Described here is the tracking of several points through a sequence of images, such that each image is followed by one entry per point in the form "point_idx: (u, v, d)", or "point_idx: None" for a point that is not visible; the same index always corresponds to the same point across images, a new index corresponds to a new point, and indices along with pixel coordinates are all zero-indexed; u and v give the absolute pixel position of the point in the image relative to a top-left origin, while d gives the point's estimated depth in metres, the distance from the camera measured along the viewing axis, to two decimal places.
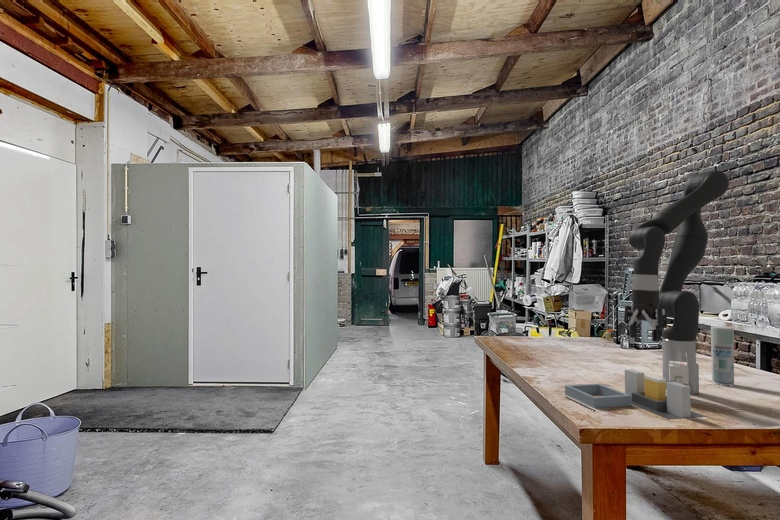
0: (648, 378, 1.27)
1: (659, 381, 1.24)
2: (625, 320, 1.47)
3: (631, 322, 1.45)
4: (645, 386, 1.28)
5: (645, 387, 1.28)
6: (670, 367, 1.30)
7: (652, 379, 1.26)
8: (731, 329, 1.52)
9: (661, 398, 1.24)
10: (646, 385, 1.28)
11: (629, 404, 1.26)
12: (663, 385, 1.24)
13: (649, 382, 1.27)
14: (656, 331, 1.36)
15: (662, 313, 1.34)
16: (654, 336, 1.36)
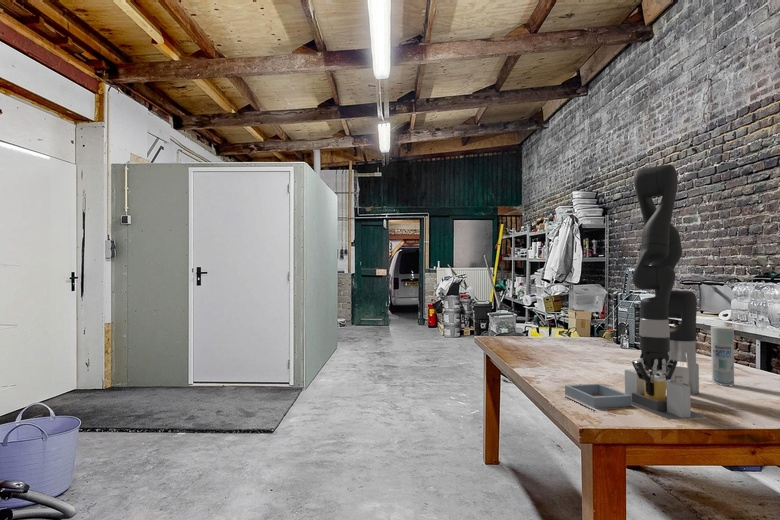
0: None
1: (659, 380, 1.24)
2: (647, 377, 1.24)
3: (652, 377, 1.25)
4: (645, 384, 1.28)
5: (645, 386, 1.28)
6: None
7: None
8: (731, 329, 1.52)
9: (661, 397, 1.24)
10: None
11: (629, 404, 1.26)
12: (663, 384, 1.24)
13: None
14: None
15: None
16: None
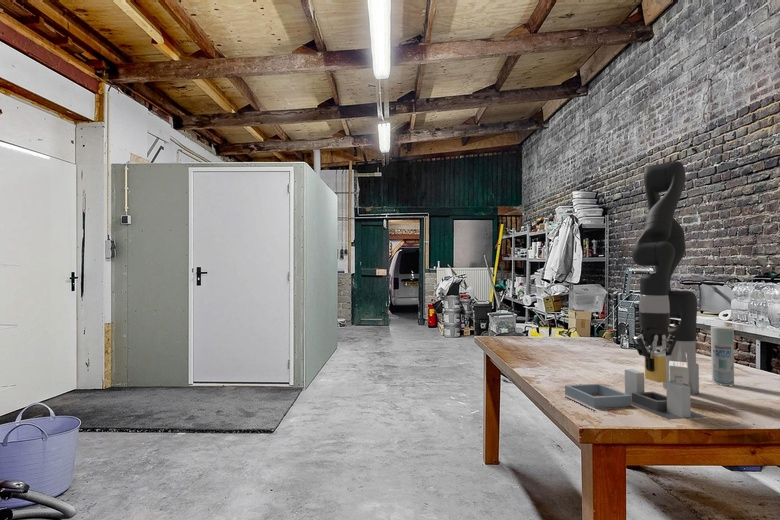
0: None
1: (659, 355, 1.24)
2: (647, 353, 1.25)
3: (652, 353, 1.25)
4: (645, 361, 1.28)
5: (645, 362, 1.28)
6: (670, 367, 1.30)
7: None
8: (731, 329, 1.52)
9: (661, 372, 1.24)
10: None
11: (629, 404, 1.26)
12: (663, 360, 1.24)
13: None
14: None
15: None
16: None
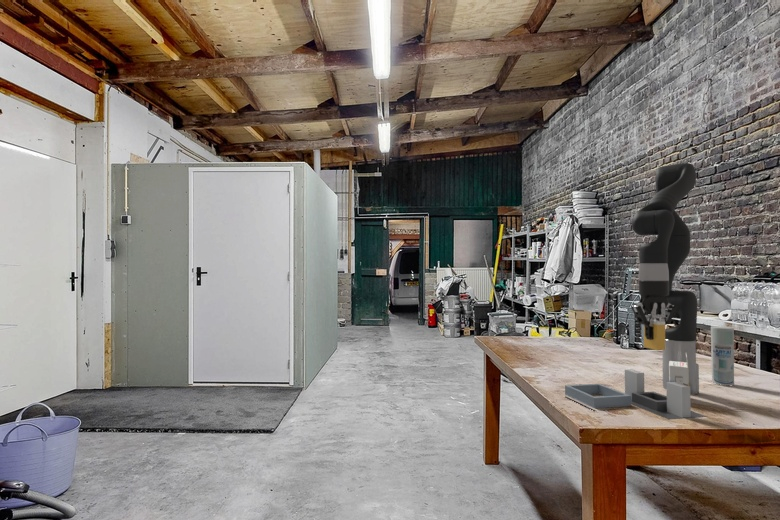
0: None
1: (658, 323, 1.24)
2: (646, 321, 1.25)
3: (651, 321, 1.25)
4: (644, 330, 1.29)
5: (644, 331, 1.29)
6: (670, 367, 1.30)
7: None
8: (731, 329, 1.52)
9: (660, 340, 1.24)
10: None
11: (629, 404, 1.26)
12: (662, 328, 1.24)
13: None
14: None
15: None
16: None
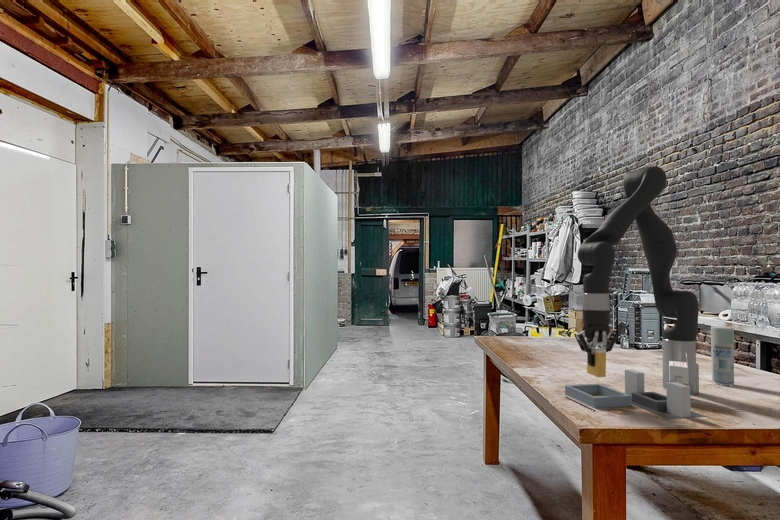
0: None
1: (599, 351, 1.29)
2: (588, 348, 1.30)
3: (593, 349, 1.30)
4: None
5: None
6: (670, 367, 1.30)
7: None
8: (731, 329, 1.52)
9: (601, 368, 1.29)
10: None
11: (629, 404, 1.26)
12: (603, 356, 1.29)
13: None
14: None
15: None
16: None
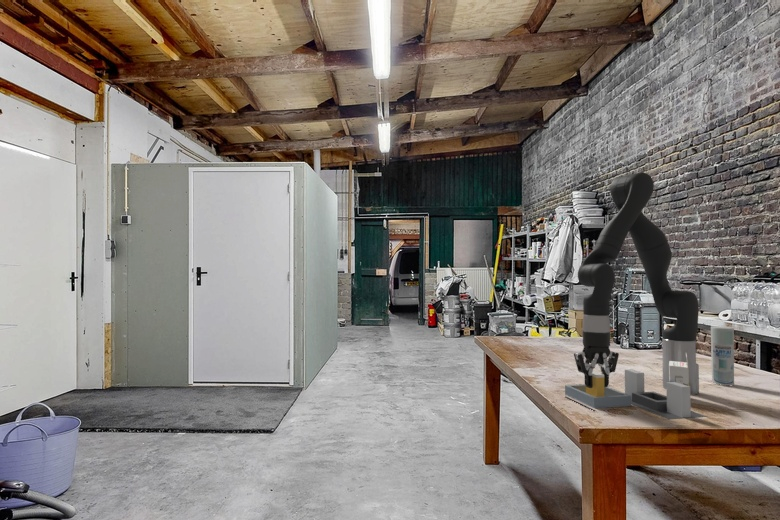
0: None
1: (598, 376, 1.30)
2: (585, 370, 1.30)
3: (590, 370, 1.30)
4: None
5: None
6: (670, 367, 1.30)
7: (592, 374, 1.32)
8: (731, 329, 1.52)
9: (599, 392, 1.30)
10: None
11: (629, 404, 1.26)
12: (601, 381, 1.30)
13: None
14: (607, 376, 1.32)
15: None
16: None
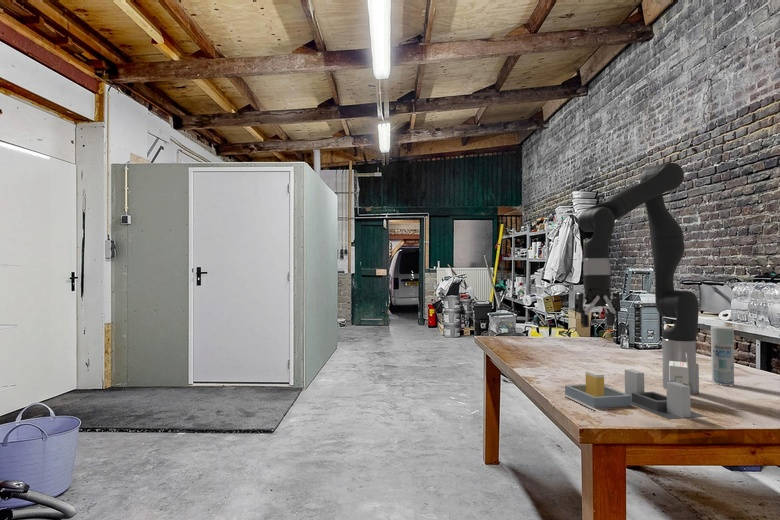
0: (588, 373, 1.33)
1: (597, 376, 1.30)
2: (581, 309, 1.31)
3: (587, 310, 1.32)
4: (586, 381, 1.34)
5: (586, 382, 1.34)
6: (670, 367, 1.30)
7: (592, 374, 1.32)
8: (731, 329, 1.52)
9: (599, 392, 1.30)
10: (587, 380, 1.34)
11: (629, 404, 1.26)
12: (601, 380, 1.30)
13: (589, 377, 1.33)
14: (613, 315, 1.34)
15: None
16: None
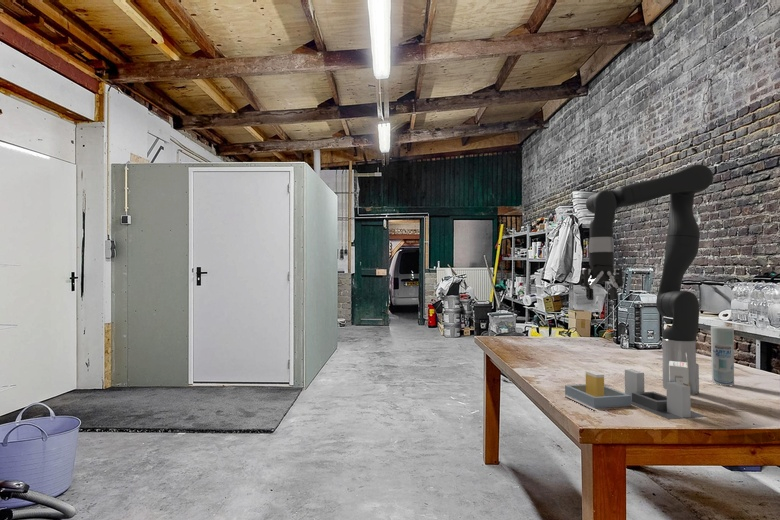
0: (588, 373, 1.33)
1: (597, 376, 1.30)
2: (586, 283, 1.44)
3: (592, 284, 1.44)
4: (586, 381, 1.34)
5: (586, 382, 1.34)
6: (670, 367, 1.30)
7: (592, 374, 1.32)
8: (731, 329, 1.52)
9: (599, 392, 1.30)
10: (587, 380, 1.34)
11: (629, 404, 1.26)
12: (601, 380, 1.30)
13: (589, 377, 1.33)
14: (616, 290, 1.47)
15: None
16: (615, 294, 1.46)
